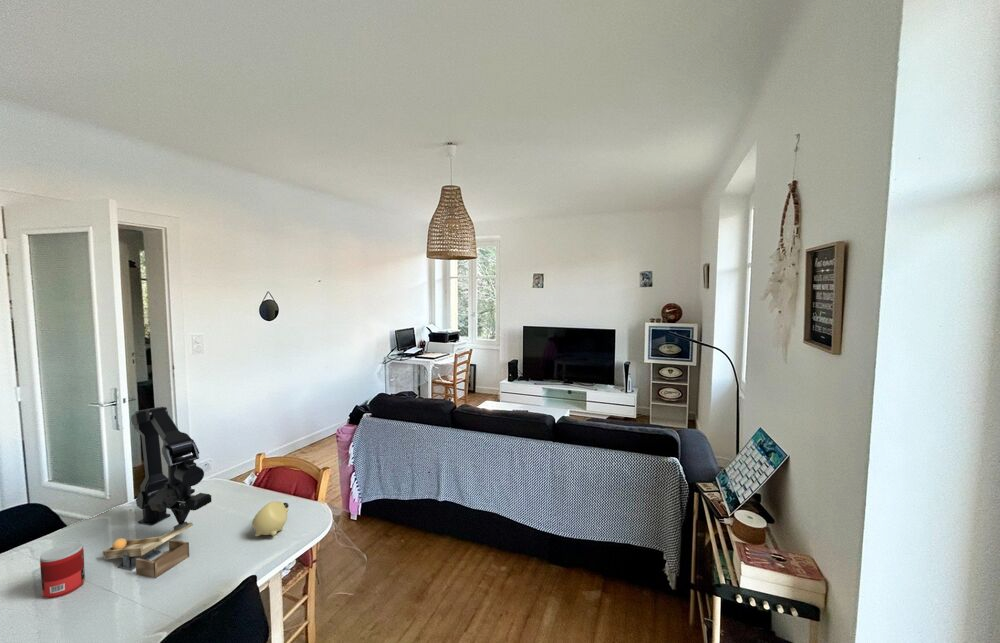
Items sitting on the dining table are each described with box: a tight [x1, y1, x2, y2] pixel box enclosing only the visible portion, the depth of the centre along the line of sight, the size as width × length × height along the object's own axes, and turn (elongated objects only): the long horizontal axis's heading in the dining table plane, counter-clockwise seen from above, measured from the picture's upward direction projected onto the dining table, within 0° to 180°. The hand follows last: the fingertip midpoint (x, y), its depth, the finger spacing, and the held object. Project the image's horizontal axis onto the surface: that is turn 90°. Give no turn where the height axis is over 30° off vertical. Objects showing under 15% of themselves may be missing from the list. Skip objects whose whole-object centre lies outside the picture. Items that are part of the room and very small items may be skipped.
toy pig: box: [251, 500, 289, 537], centre depth 138 cm, size 10×12×11 cm
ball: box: [111, 537, 127, 550], centre depth 124 cm, size 3×3×3 cm
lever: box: [102, 521, 194, 560], centre depth 128 cm, size 15×16×2 cm
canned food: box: [39, 541, 86, 600], centre depth 110 cm, size 8×8×11 cm
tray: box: [135, 538, 190, 579], centre depth 121 cm, size 7×10×4 cm
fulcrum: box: [117, 548, 162, 572], centre depth 123 cm, size 5×8×4 cm, turn 168°
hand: (181, 523), depth 132 cm, fingers closed
